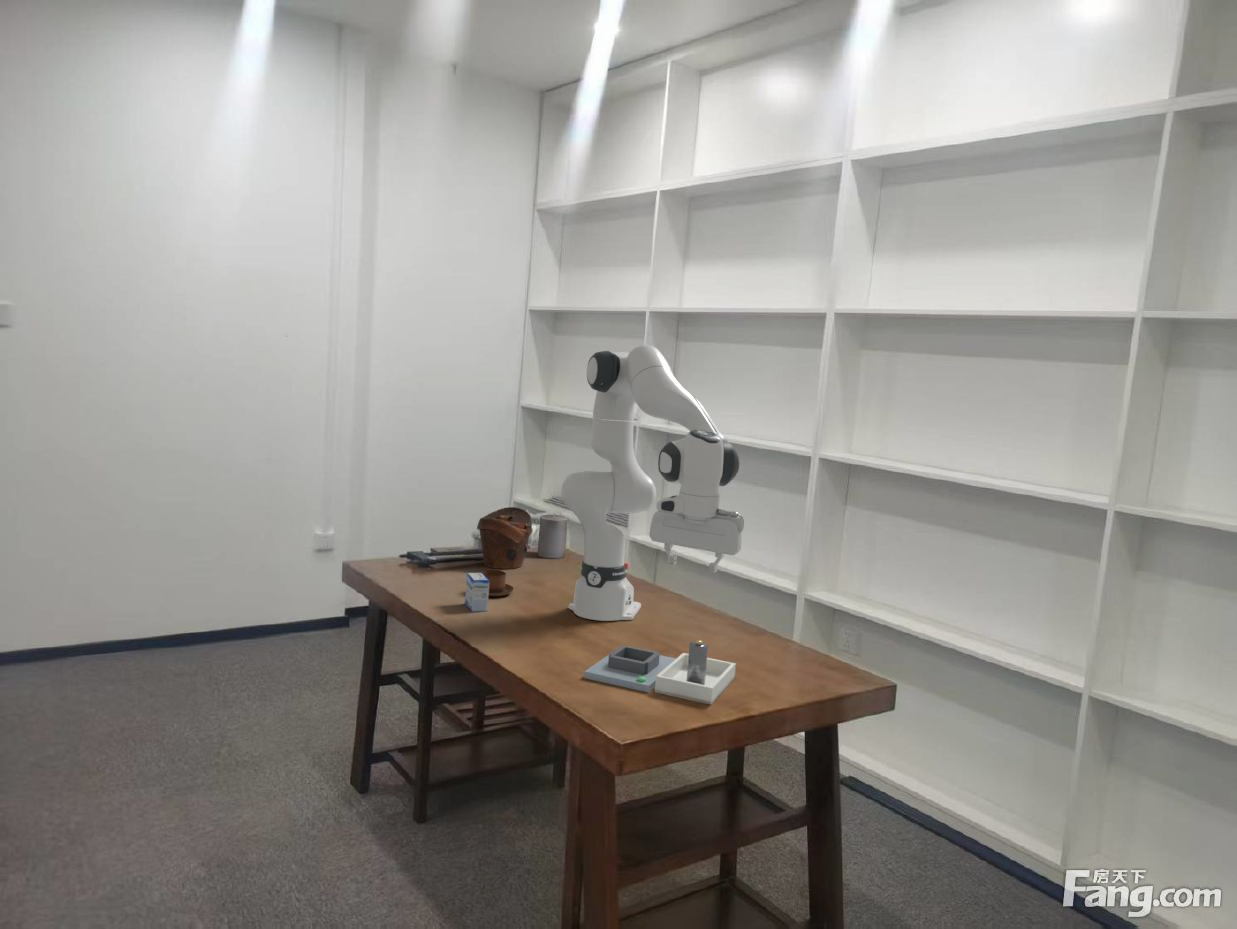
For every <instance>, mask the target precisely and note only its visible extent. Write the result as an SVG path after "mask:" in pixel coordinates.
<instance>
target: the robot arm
mask: <svg viewBox="0 0 1237 929" xmlns="http://www.w3.org/2000/svg"><path fill="white" fill-rule="evenodd" d="M586 366H587V368H586V379H587V383H588V385H589V386H590V388H591V389H592V390H594V391H596V394H595V398H594V399H595V400H594V405H593V410H592V411H593V412H592V425H591V426H592V427H591V443H590V444H591V448H592V450H593V452H594V453H595V454H596V455H598V456H600V457H601V458H602V459H604V460H605V461H608V462H609V464H610V468H611V471H594V470H593V471H592V470H591V471H590V470H585V471H577V472H572V473H569V474H568V475H567V476H566V477H565V478H564V481H563V482H562V484H561V491H560V494H561V499H562V501H563V504H564V505H565V507H567V508H568V509H569V510H570V511H571V512H572V513H573V514H574V515H575V516H576V518H577V519H578V521H579V523H580V525H581V527H582V531H583V536H584V537H583V539H584V543H583V544H584V547H583V548H584V549H583V550H584V551H583V560H582V562H581V566H580V574H581V576H580V577H579V578H578V579H577V580H575V581H576V583H575V587H574V588H575V589H574V593H573V594H574V596H573V603H572V602H571V603H569V605H568V609H569V610H571V611H573V614H575V615H576V616H578V617H580V618H583V619H588V620H594V621H601V622H609V621H610V622H613V621H631V620H634V618H635V616H636V615H637V614H638V612H639V611H640V610H641V608H642V604H641V602H639V601H635V600H634V597H635V596H634V595H635V591H634V590H635V588H634V586H633V585H632V583H631V582H630V581H629V580H628V578H627V571H628V570H629V569H630V562H627V561H626V562H625V558H626V556H625V555H626V548H627V547H626V545H627V544H626V542H627V539H626V535H625V534H624V532H623V531H622V530H621V529H620V528H618V527H617V526H615V525H613V524H611V523H609V522H608V520H607V514H638V513H642V512H643V513H644V512H647V511H649V510H650V509H651V508H652V507H653V506H654V504H655V501H656V498H657V488H656V485H655V482H654V481H653V480H652V478H651V477H650V476H649V475H648V474H646V472H644V471H643V469H642V468H641V467H640V464H639V463H638V461H637V458H636V455H635V450H634V427H635V426H634V425H635V424H634V423H635V422H634V421H635V403H636V405H637V407H639V409H640V410H641V411H642V412H643V413H644V414H646V415H648V416H651V417H653V418H655V419H661V420H664V421H669V422H672V423H675V424H678V425H679V426H682V427H684V428H685V429H686V430H688V431H689V432H687V434H686V436H685V437H683V438H681V439H677V440H675V441H673V440H672V441H669V442H667V443H666V444H665V445H664V446H663V447H662V448H661V450H660V452H659V455H658V471H659V473H660V475H661V476H662V477H663V479H664V480H666V481H667V482H669V483H672V484H680V488H679V490H678V491H679V494H678V495H672V496H667V497H664V498H661V499H659V500H658V501H657V502H656V509H657V511H655V512H654V514H653V515H652V518H651V522H650V527H649V538H650V539H651V541H652V542H656V543H660V544H663V545H664V546H663V549H664V551H665V553H666V556H667V564H668V565H674V566H675V565H676V564H677V559H678V555H675V554H674V552H673V550H672V548H673V547H674V546H678V547H682V548H688V549H689V548H690V549H694V550H699V551H700V550H701V551H705V552H711V553H715V555H714V556H715V558H716V559H715V561H714V562H710V563H709V564H708V572H710V573H716V572H718V568H719V563H720V562H721V561H722V559H724V557H725V555H728V556H736V555H737V554H739V553H740V552H741V549H742V532H743V530H744V526H745V519H744V518H743V517H744V516H742V515H741V514H739V513H738V512H737V511H729V510H726V509H719V508H720V500H721V499H720V498H721V489H720V487H724V486H727V485H728V484H730V482H732V480H734V478H735V477H736V476H737V474H738V472H739V469H740V458H739V455H738V453H737V451H736V449H735V448H734V446H733V445H732V444H731V443H730V442H729V441H728V440H727V439H726V438H725V437H724V436H723V434H722V433H721V431H720V430H719V428H718V427H717V426H716V424H715V422H714V420H713V419H712V418H711V417H710V415H709V413H708V411H706V409H705V407H704V406H703V404H702V402H700V400H699V399H698V398H697V397H695V396H694V395H692V394H691V393H690V392H689V391H687V389H686V388H684V387H683V385H681V383H680V382H679V381H678V379H677V378H676V377H675V375H674V372H673V370H672V368H671V366H670V364H669V363H668V361H667V359H666V357H664V355H663V354H662V352H661V351H660V350H659V349H658V348H656V346H653V345H651V344H643V345H639V346H636V347H634V348H633V349H631V350H630V351H609V350H604V351H603V350H602V351H597V352H594V354H592V356H590V358H589V360H588V362H587V365H586Z"/></svg>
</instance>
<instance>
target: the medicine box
mask: <svg viewBox="0 0 1237 929" xmlns="http://www.w3.org/2000/svg"><path fill="white" fill-rule="evenodd" d="M488 595H489V580H488V579H487V578H486V577H485V576H484V575H483V574H482V573H480V572H468V573H466V583H465V597H464V598H465V599H464V604H465V605H466V606H467V608H469V609H470V611H471V612H472V613H473V612H487V611H488V607H489V596H488Z"/></svg>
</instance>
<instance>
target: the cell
mask: <svg viewBox="0 0 1237 929" xmlns="http://www.w3.org/2000/svg"><path fill="white" fill-rule="evenodd" d="M688 646H689V649H688V654H689V657H688V669H687V681H688V682H692V683H697V684H701V685H704V684H705V676H706V665H707V658H708V651H709V644H708V643H706V642H704V641H703V640H701V639H695V641H691V642H689V645H688Z"/></svg>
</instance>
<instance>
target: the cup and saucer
mask: <svg viewBox="0 0 1237 929" xmlns="http://www.w3.org/2000/svg"><path fill="white" fill-rule="evenodd" d="M479 573H482V574H483V575H484V576H485V577H486V578H487V579H488V580H489V595H488V597H503V596H507V595H509V594H511V593H512V592H513V590H514V587H513V586H512V585H511V584H508V583H506V580H507V572H505V571H502V570H499V569H486V570H482V571H480V572H479Z"/></svg>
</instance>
